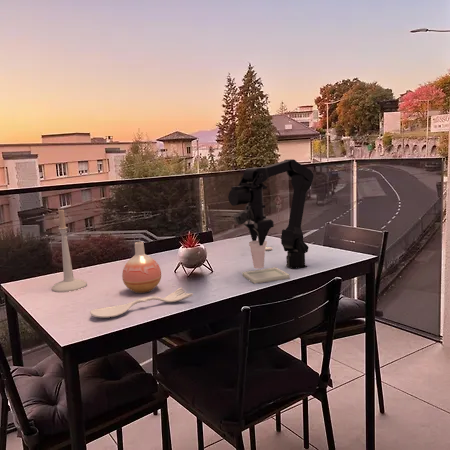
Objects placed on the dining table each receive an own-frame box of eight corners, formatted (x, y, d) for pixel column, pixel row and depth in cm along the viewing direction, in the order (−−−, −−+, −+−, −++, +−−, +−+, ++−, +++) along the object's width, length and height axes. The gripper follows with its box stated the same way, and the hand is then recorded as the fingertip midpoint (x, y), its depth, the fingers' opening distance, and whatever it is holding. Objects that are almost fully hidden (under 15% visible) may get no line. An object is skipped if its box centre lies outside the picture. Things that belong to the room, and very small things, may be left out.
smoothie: (266, 269, 171) (264, 232, 168) (249, 269, 172) (246, 232, 170) (268, 265, 177) (266, 228, 174) (251, 265, 178) (249, 229, 176)
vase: (117, 291, 167) (112, 243, 164) (151, 282, 175) (147, 237, 172) (134, 299, 156) (129, 248, 154) (169, 290, 164) (165, 241, 161)
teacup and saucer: (273, 251, 218) (272, 243, 217) (256, 252, 218) (256, 244, 217) (271, 247, 227) (271, 239, 226) (255, 248, 227) (255, 240, 226)
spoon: (194, 302, 150) (193, 292, 150) (94, 325, 135) (93, 313, 135) (182, 295, 158) (182, 286, 158) (87, 316, 143) (86, 305, 143)
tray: (275, 271, 182) (275, 267, 181) (289, 278, 170) (289, 274, 170) (242, 276, 177) (242, 272, 177) (254, 284, 166) (254, 279, 166)
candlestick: (49, 286, 178) (39, 209, 174) (82, 280, 185) (74, 205, 180) (55, 294, 167) (45, 212, 163) (91, 287, 174) (82, 208, 169)
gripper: (226, 202, 177) (229, 242, 179) (243, 207, 159) (246, 251, 162) (254, 199, 180) (256, 238, 183) (273, 203, 162) (275, 247, 165)
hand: (257, 243), depth 173 cm, fingers closed on smoothie, 6 cm apart
